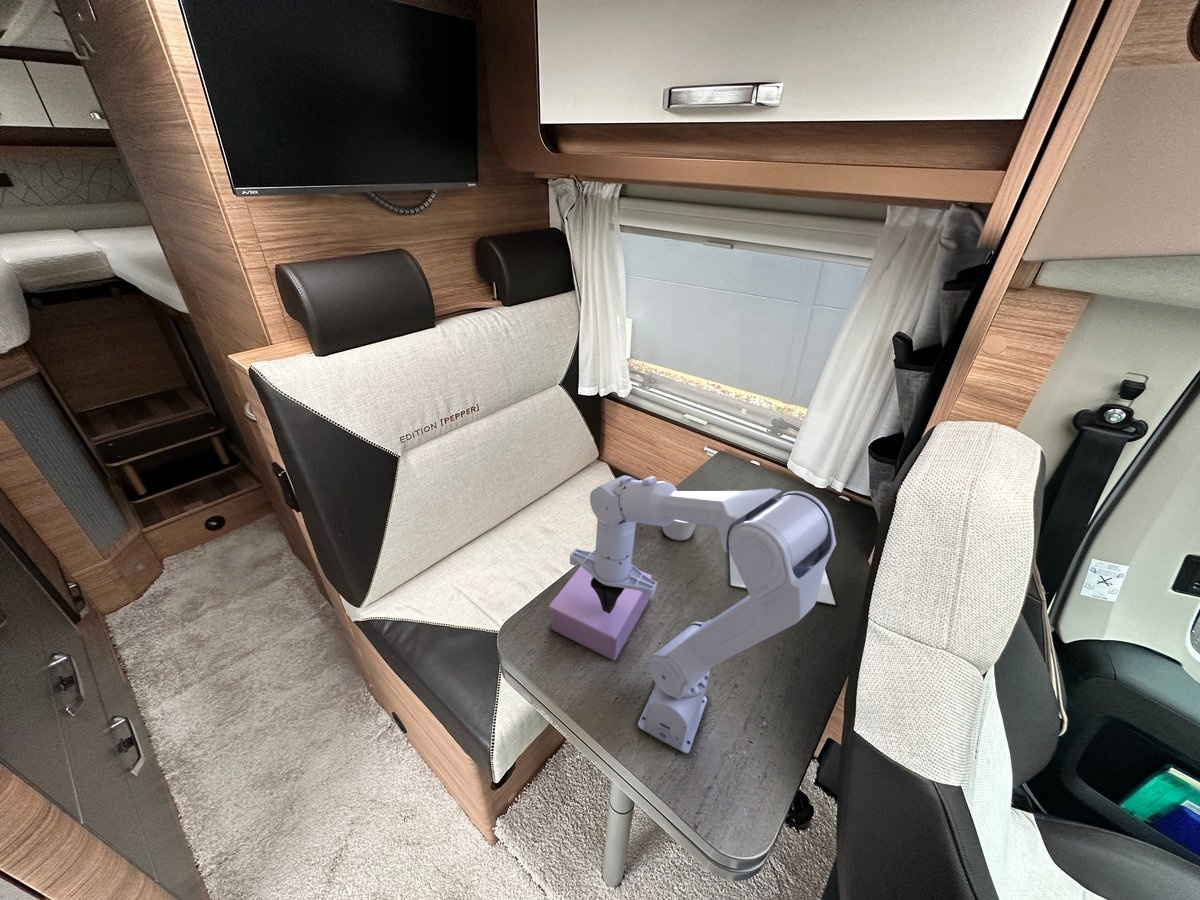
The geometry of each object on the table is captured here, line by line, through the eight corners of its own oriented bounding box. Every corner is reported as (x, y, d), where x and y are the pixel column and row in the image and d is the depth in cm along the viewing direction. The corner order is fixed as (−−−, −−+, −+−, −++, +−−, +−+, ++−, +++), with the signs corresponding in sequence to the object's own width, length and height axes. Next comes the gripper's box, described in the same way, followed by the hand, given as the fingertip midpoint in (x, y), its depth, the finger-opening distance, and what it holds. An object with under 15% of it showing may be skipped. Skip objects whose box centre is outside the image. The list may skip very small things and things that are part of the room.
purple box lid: (614, 640, 75) (615, 638, 74) (548, 608, 79) (548, 605, 79) (651, 578, 87) (652, 575, 86) (592, 553, 91) (592, 550, 91)
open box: (614, 661, 79) (617, 636, 75) (551, 629, 83) (551, 605, 80) (648, 601, 90) (651, 578, 87) (591, 576, 95) (592, 553, 91)
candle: (689, 549, 103) (693, 527, 100) (651, 535, 106) (654, 513, 103) (701, 526, 110) (706, 505, 107) (666, 514, 113) (669, 492, 110)
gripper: (668, 548, 72) (657, 609, 79) (586, 517, 77) (583, 576, 84) (650, 578, 66) (641, 640, 73) (563, 542, 72) (562, 602, 79)
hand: (608, 608), depth 78 cm, fingers closed
